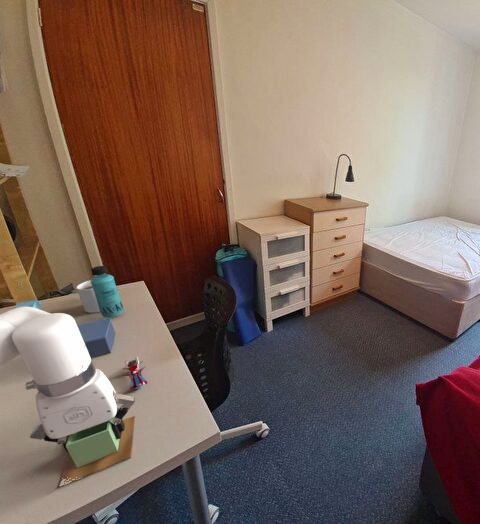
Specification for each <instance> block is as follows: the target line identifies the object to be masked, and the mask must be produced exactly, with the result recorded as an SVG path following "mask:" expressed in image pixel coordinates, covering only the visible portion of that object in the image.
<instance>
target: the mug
mask: <svg viewBox="0 0 480 524" xmlns="http://www.w3.org/2000/svg"><path fill="white" fill-rule="evenodd" d="M91 280H92V279H90V280H86V281H84V282H81V283H79V284H78V285H77V286H76V291H77V294H78V296H79V299H80V302H81V304H82V306H83V309H84V312H86V313H88V314H89V313H90V314H95V313H96V314H97V313H101V312H100V309H99V306H98V304H97V303H98V302H97V299H96V297H95V293H94V290H93V287H92V284H91V282H90V281H91Z"/></svg>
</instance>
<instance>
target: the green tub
mask: <svg viewBox="0 0 480 524" xmlns="http://www.w3.org/2000/svg"><path fill="white" fill-rule="evenodd" d="M119 441H120V439H116V437H115V434H114V432H113V430H112V423H111V422H109V421H106V422H104V423H101V424H98V425H95V426H93V427H90V428H87V429H84V430H82V431H79V432H76V433H73V434H70V435H69V437H68V440H67V443H66V448H67V450H68V452H67V453H68V454H69V453H70V455H71V457H72V459H73V461H74V463H75V464H76V466H77V468H79V467H81V466H84V465H86V464H89V463H91V462H93V461H96V460H98V459H101V458H103V457H106V456H108V455H111V454H113V453H116V452H118V447H119Z"/></svg>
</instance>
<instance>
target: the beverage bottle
mask: <svg viewBox="0 0 480 524" xmlns="http://www.w3.org/2000/svg"><path fill="white" fill-rule="evenodd" d="M90 271H91V275H92V276H93V277H92V278H91V279H90V280H91V281H90V280H89V281H90V282H91V284H92V287H93V290H94V293H95V297H96V299H97V302H98V303H97V304H98V306H99V309H100V312H99V313H100V314H101V316H102V317H103V318H104V319H108V318H111V319H112V318H115V317H117V316H120V315H122V314H123V313H124V305H123V302H122V300H121V297H120V293H119V291H118V290H119V289H118V288H117V285H116V281H115V277H114V276H113V275H111V274H109V273H108V272H109V270H108V269H107V266H105V265H98V266H94V267H91V269H90Z"/></svg>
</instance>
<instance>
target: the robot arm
mask: <svg viewBox="0 0 480 524" xmlns="http://www.w3.org/2000/svg"><path fill="white" fill-rule="evenodd" d="M14 308H15V307H14ZM14 308H12V309H10V310H7V311H4V312H3V313H0V367H2V366H3V365H5V364H8V363H9V362H10V361H12V360H14V359H15V358H17V357H19V356H20V357H21V359H22V360H23V362H24V365H25V366H26V368H27V370H28V371H29V374H30V376H31V378H32V380H31V381H27V382H26V383H25V385H24V386H25V389H26V390H27V391H28V390H35V389H36V390H37V391H38V392H37V393H36V395H35V404H36V409H37V413H38V417H39V419H40V422H39V423H38V424H37V425H36V427H34V429H33V430H32V431H31V434H30V436H29V438H30V439H31V440H40V441H41V440H43V441H45V442H48V443H49V442H51V443H56V444H57V445H58V446H62V447H63V449H64V450H65V452H66V453H69V452H68V450H67V448H66V443H67V440H68V437H69V435H70V434H73V433H76V432H79V431H82V430H84V429H87V428H90V427H93V426H95V425H98V424H101V423H104V422H106V421H109V422H111V423H112V430H113V432H114V434H115V437H116V439H120V438H121V434H122V431H124V430H125V425H124V422H123V420H124V419H123V418H124V417H125V416H126V415H127V413H128V412H129V410H130V409H131V408H132V406H134V404H135V402H136V397H135V396H133V395H127V394H121V393H117V392H116V390H115V388H114V386H113V384H112V383H111V381H110V380H109V378H108V377H107V375H105V374H104V372H103V371H102V370H101V369H100V368H96V367H95V365H94V363H93V359H92V358H90V355H89V353H88V350H87V348H86V346H85V343H84V341H83V338H82V336H81V334H80V331H79V329H78V327H77V325H78V324H77V322H76V320H75V318H74V317H73V316H71V315H70V314H67V313H63V312H54V313H51V312H48V311H46V310H43V311H42V310H40V309H37V308H33V307H18V308H15V309H14ZM117 404H119V405H121V406H120V407H119V408H118V406H117Z"/></svg>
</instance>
